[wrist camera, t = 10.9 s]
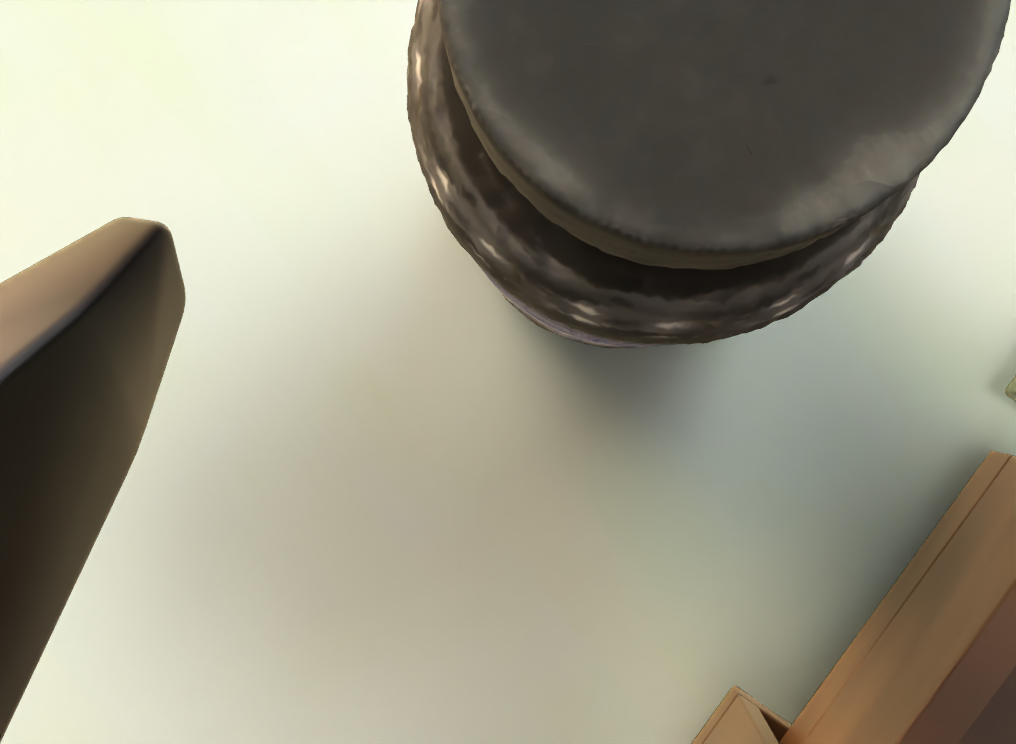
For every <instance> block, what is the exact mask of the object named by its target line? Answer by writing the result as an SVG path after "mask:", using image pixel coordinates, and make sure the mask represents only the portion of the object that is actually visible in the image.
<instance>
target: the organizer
mask: <svg viewBox="0 0 1016 744" xmlns="http://www.w3.org/2000/svg"><path fill="white" fill-rule="evenodd" d="M791 726H792V725H791V724H790V723H788V722H787V721H785V720H784V719H783V718H781V717H780V716H778V715H777V714H775V713H774V712H773V711H771V710H770V709H768V708H767V707H765V706H764V705H762V704H761V703H760V702H758V701H757V700H755V699H754V698H752V697H751V696H749V695H748V694H747V693H745V692H744V691H742V690H741V689H739V688H738V687H736V686H733V687H732V688H731V690H730V691H729V692H728V694H727V695H726V697H725V698H724V699H723V701H722V702H721V703H720V705H719V706H718V708H717V709H716V710H715V712H714V713H713V715H712V716H711V717H710V719H709V720H708V722H707V723H706V724H705V726H704V727H703V728H702V730H701V731H700V733H699V734H698V735H697V737H696V738H695V740H694V741H693V742H692V744H779V742H780V741H781V739H782V738H783V737H784V735H785V734H786V732H787V731H788V730H789V728H790V727H791Z"/></svg>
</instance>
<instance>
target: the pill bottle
mask: <svg viewBox="0 0 1016 744" xmlns="http://www.w3.org/2000/svg"><path fill="white" fill-rule="evenodd" d="M1010 2H1011V0H418V3H417V9H416V14H415V24H414V26H413V28H412V30H411V36H410V41H409V47H408V69H407V87H408V95H407V110H408V119H409V122H410V124H411V131H412V138H413V141H414V144H415V147H416V154H417V158H418V161H419V163H420V166H421V170H422V173H423V175H424V176H425V179H426V181H427V184H428V187H429V191H430V193H431V195H432V197H433V199H434V203H435V205H436V206H437V207H438V209H439V210H440V211H441V213H442V216H443V218H444V221H445V223H446V225H447V227H448V229H449V230H450V231H451V233H452V234H453V235H454V237H455V238H456V239H457V241H458V242H459V243H460V245H461V246H462V247H463V248H464V249H465V250H466V251H467V252H468V253H469V254H470V255H471V256H472V257H473V259H474V260H475V261H476V262H477V264H478V265H479V266H480V267H481V269H482V270H483V271H484V272H485V274H486V275H487V276H488V277H489V279H490V280H491V281H492V282H493V284H494V285H495V286H496V287H497V288H498V290H499V291H500V292H501V293H502V294H503V296H504V297H505V298H506V300H508V301H509V302H510V303H511V304H512V305H513V306H515V307H516V308H517V309H518V310H519V311H520V312H521V313H522V314H523V315H525V316H526V317H527V318H528V319H530V320H531V321H532V322H534V323H535V324H536V325H538V326H540V327H542V328H544V329H546V330H549V331H551V332H554V333H556V334H558V335H561V336H564V337H567V338H570V339H572V340H575V341H578V342H581V343H585V344H589V345H594V346H599V347H606V348H632V347H644V346H655V345H669V344H693V343H708V342H711V341H715V340H720V339H725V338H729V337H732V336H735V335H739V334H741V333H748V332H751V331H754V330H756V329H761V328H763V327H765V326H767V325H769V324H770V323H772V322H774V321H777V320H780V319H784V318H787V317H789V316H790V315H792V314H794V313H795V312H797V311H798V310H800V309H802V308H803V307H804V306H805V305H807V304H808V303H809V302H810V301H812V300H814V299H815V298H817V297H818V296H820V295H821V294H823V293H825V292H826V291H828V290H829V289H830V288H831V287H832V286H833V285H834V284H835V283H836V282H837V281H839V280H840V279H842V278H843V277H845V276H846V275H848V274H849V273H850V272H852V271H853V270H855V269H856V268H858V267H859V266H860V265H861V263H862V261H863V260H864V259H865V258H866V257H867V256H869V255H870V254H871V253H872V251H873V250H874V249H875V248H876V246H877V245H878V244H879V243H880V242H882V241H883V239H884V237H885V236H886V234H887V233H888V231H889V230H890V229H891V227H892V224H893V222H894V221H895V220H896V219H897V217H898V216H899V215H900V214H901V213H902V212H903V210H904V208H905V207H906V204H907V201H908V200H909V197H910V195H911V192H912V190H913V189H914V188H915V186H916V183H917V179H918V177H919V174H920V172H921V171H922V170H923V169H925V168H926V167H927V166H928V165H929V164H930V163H931V162H932V161H933V159H934V158H935V157H936V155H937V154H938V153H939V151H940V150H942V149H943V148H944V147H945V146H946V145H947V144H948V143H949V141H950V140H951V138H952V137H953V135H954V134H955V132H956V131H957V129H958V128H959V126H960V125H961V124H962V122H963V121H964V120H965V119H966V117H967V115H968V114H969V112H970V110H971V109H972V107H973V105H974V103H975V102H976V100H977V98H978V97H979V95H980V93H981V90H982V87H983V85H984V82H985V80H986V78H987V77H988V75H989V73H990V72H991V69H992V64H993V62H994V60H995V58H996V57H997V55H998V53H999V49H1000V45H1001V41H1002V39H1003V37H1004V31H1005V25H1006V23H1007V20H1008V15H1009V10H1010Z"/></svg>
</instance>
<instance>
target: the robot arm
mask: <svg viewBox="0 0 1016 744" xmlns="http://www.w3.org/2000/svg"><path fill="white" fill-rule="evenodd" d="M184 307H185V288H184V283H183V279H182V275H181V271H180V266H179V262H178V258H177V254H176V250H175V246H174V242H173V238H172V235H171V232H170V230H169V229H168V227H167V226H165V225H164V224H162V223H160V222H156V221H150V220H143V219H136V218H130V217H121V218H118V219H115V220H113V221H111V222H109V223H107V224H106V225H104V226H102V227H100V228H99V229H97V230H95V231H93V232H91V233H90V234H88V235H86V236H84V237H82V238H81V239H79V240H77V241H75V242H73V243H72V244H70V245H68V246H66V247H65V248H63V249H61V250H59V251H57V252H56V253H54V254H52V255H50V256H48V257H47V258H45V259H43V260H41V261H39V262H38V263H36V264H34V265H32V266H31V267H29V268H27V269H25V270H23V271H22V272H20V273H18V274H16V275H14V276H13V277H11V278H9V279H7V280H5V281H4V282H2V283H0V742H1V740H2V738H3V736H4V734H5V732H6V729H7V727H8V725H9V723H10V721H11V719H12V717H13V715H14V712H15V710H16V708H17V706H18V704H19V702H20V700H21V698H22V696H23V693H24V691H25V689H26V687H27V685H28V683H29V681H30V679H31V677H32V674H33V672H34V670H35V668H36V666H37V664H38V662H39V660H40V657H41V655H42V653H43V651H44V649H45V647H46V645H47V643H48V641H49V638H50V636H51V634H52V632H53V630H54V628H55V626H56V624H57V621H58V619H59V617H60V615H61V613H62V611H63V609H64V607H65V605H66V602H67V600H68V598H69V596H70V594H71V592H72V590H73V588H74V585H75V583H76V581H77V579H78V577H79V575H80V573H81V571H82V569H83V566H84V564H85V562H86V560H87V558H88V556H89V554H90V552H91V549H92V547H93V545H94V543H95V541H96V539H97V537H98V535H99V533H100V530H101V528H102V526H103V524H104V522H105V520H106V518H107V516H108V513H109V511H110V509H111V507H112V505H113V503H114V501H115V499H116V497H117V494H118V492H119V490H120V488H121V486H122V484H123V482H124V480H125V477H126V475H127V473H128V471H129V469H130V466H131V464H132V462H133V460H134V457H135V455H136V453H137V450H138V448H139V445H140V442H141V440H142V437H143V434H144V431H145V428H146V425H147V422H148V419H149V416H150V413H151V410H152V407H153V404H154V401H155V398H156V395H157V392H158V389H159V386H160V383H161V380H162V377H163V374H164V371H165V368H166V365H167V362H168V359H169V356H170V353H171V350H172V347H173V344H174V341H175V338H176V334H177V331H178V328H179V325H180V322H181V319H182V316H183V313H184Z"/></svg>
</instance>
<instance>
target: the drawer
mask: <svg viewBox="0 0 1016 744" xmlns="http://www.w3.org/2000/svg"><path fill="white" fill-rule="evenodd" d="M1005 393H1006V395H1007V396H1008V397H1010V398H1011V399H1013V400H1014V401H1016V376H1015V377H1014V378H1013V380H1012V381H1011V382H1010V384H1009V385H1008V387H1007V388H1006V389H1005ZM779 744H1016V456H1013V455H1008V454H1004V453H1000V452H996V451H990V452H989V454H988V455H987V457H986V458H985V459H984V461H983V462H982V464H981V465H980V466H979V468H978V469H977V470H976V472H975V473H974V475H973V476H972V477H971V479H970V480H969V481H968V483H967V484H966V486H965V487H964V488H963V490H962V491H961V492H960V494H959V495H958V497H957V498H956V499H955V501H954V502H953V504H952V505H951V506H950V508H949V509H948V510H947V512H946V513H945V515H944V516H943V517H942V519H941V520H940V521H939V523H938V524H937V526H936V527H935V528H934V530H933V531H932V532H931V534H930V535H929V537H928V538H927V539H926V541H925V542H924V544H923V545H922V546H921V548H920V549H919V550H918V552H917V553H916V555H915V556H914V557H913V559H912V560H911V561H910V563H909V564H908V566H907V567H906V568H905V570H904V571H903V572H902V574H901V575H900V577H899V578H898V579H897V581H896V582H895V584H894V585H893V586H892V588H891V589H890V590H889V592H888V593H887V595H886V596H885V597H884V599H883V600H882V601H881V603H880V604H879V606H878V607H877V608H876V610H875V611H874V612H873V614H872V615H871V617H870V618H869V619H868V621H867V622H866V624H865V625H864V626H863V628H862V629H861V630H860V632H859V633H858V635H857V636H856V637H855V639H854V640H853V641H852V643H851V644H850V646H849V647H848V648H847V650H846V651H845V652H844V654H843V655H842V657H841V658H840V659H839V661H838V662H837V664H836V665H835V666H834V668H833V669H832V670H831V672H830V673H829V675H828V676H827V677H826V679H825V680H824V681H823V683H822V684H821V686H820V687H819V688H818V690H817V691H816V692H815V694H814V695H813V697H812V698H811V699H810V701H809V702H808V704H807V705H806V706H805V708H804V709H803V710H802V712H801V713H800V715H799V716H798V717H797V719H796V720H795V721H794V723H793V724H792V726H791V727H790V728H789V730H788V731H787V732H786V734H785V735H784V737H783V738H782V739H781V741H780V742H779Z"/></svg>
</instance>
